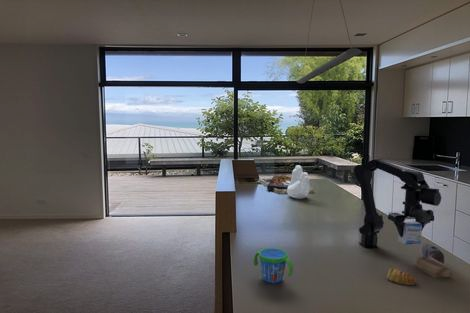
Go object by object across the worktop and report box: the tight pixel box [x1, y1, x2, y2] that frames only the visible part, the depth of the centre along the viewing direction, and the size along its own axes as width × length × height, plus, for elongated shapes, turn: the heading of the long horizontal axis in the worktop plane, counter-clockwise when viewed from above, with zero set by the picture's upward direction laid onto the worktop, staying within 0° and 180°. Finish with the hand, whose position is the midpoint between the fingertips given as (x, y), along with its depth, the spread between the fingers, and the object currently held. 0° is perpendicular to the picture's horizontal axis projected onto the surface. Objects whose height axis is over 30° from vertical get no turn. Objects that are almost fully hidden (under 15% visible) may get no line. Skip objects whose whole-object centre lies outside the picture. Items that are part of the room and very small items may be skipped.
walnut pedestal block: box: [415, 257, 452, 279], centre depth 138 cm, size 7×10×4 cm
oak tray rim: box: [258, 178, 315, 195], centre depth 305 cm, size 32×52×3 cm, turn 12°
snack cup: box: [253, 247, 294, 284], centre depth 127 cm, size 16×10×10 cm
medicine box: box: [398, 221, 423, 245], centre depth 148 cm, size 8×4×9 cm, turn 105°
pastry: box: [386, 267, 416, 286], centre depth 129 cm, size 9×7×4 cm
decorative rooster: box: [287, 164, 311, 200], centre depth 260 cm, size 25×16×25 cm, turn 2°
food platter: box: [266, 174, 292, 192], centre depth 305 cm, size 45×25×10 cm, turn 167°
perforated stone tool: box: [421, 243, 445, 264], centre depth 149 cm, size 15×5×7 cm, turn 172°
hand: (409, 236), depth 148 cm, fingers closed on medicine box, 8 cm apart
